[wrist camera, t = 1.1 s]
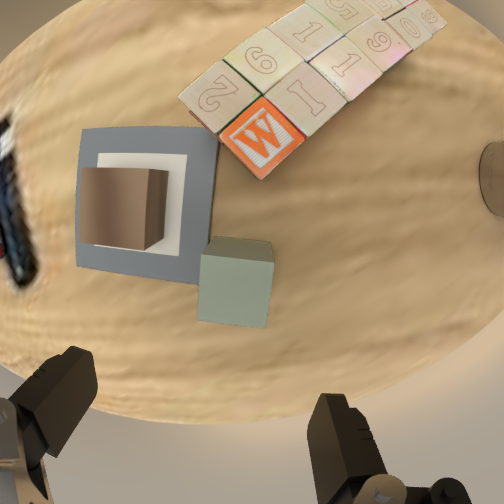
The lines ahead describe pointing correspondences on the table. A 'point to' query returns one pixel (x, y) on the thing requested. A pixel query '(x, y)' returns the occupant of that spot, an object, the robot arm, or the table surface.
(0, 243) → the race car
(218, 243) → the sage block
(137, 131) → the board
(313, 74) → the stack of blocks
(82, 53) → the table surface
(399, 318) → the table surface
